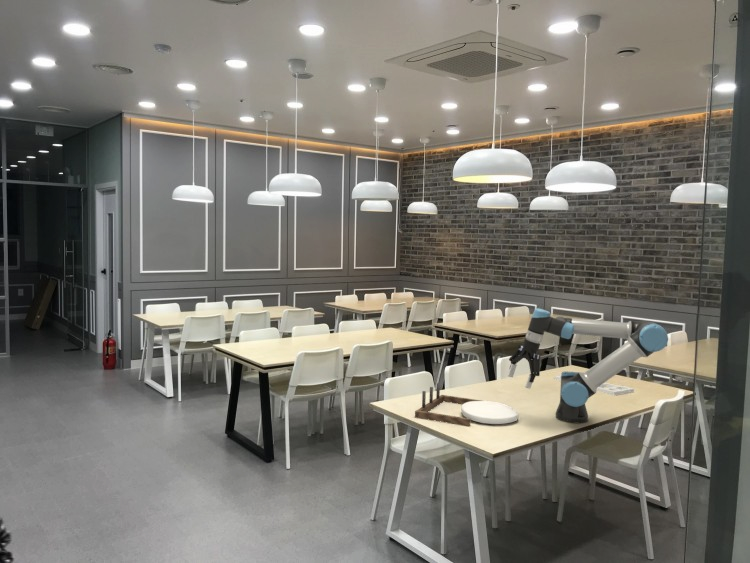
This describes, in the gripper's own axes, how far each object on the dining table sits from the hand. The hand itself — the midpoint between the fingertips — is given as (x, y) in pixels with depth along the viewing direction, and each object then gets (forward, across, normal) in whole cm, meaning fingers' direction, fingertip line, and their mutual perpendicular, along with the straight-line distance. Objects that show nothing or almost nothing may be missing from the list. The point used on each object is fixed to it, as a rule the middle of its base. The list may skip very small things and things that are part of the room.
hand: (518, 382), depth 277 cm
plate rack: (+26, -19, -17) cm, 36 cm away
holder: (+8, -40, +95) cm, 103 cm away
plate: (+22, -5, -6) cm, 23 cm away
